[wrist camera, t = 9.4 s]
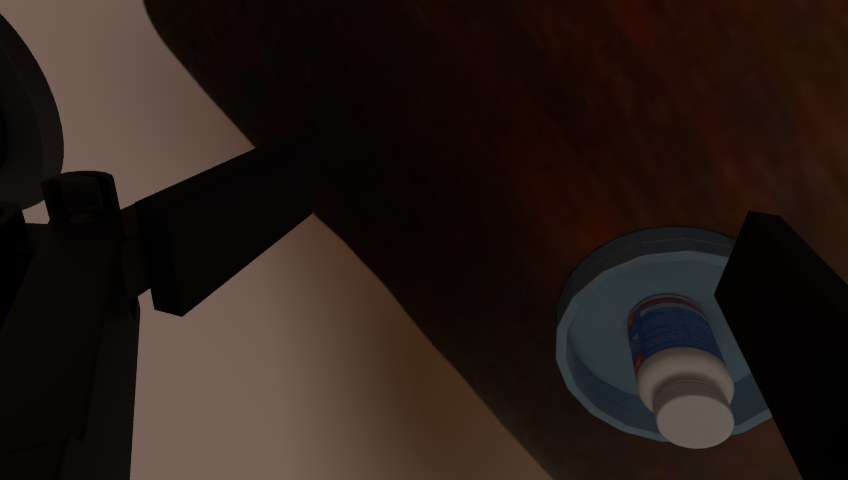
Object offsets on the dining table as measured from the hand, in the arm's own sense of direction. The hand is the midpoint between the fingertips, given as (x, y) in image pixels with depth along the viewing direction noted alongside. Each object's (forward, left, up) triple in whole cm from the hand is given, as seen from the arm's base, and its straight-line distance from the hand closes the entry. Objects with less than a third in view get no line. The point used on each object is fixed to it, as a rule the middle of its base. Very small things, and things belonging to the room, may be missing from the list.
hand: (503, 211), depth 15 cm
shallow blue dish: (+9, -16, -20) cm, 27 cm away
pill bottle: (+9, -16, -20) cm, 27 cm away
